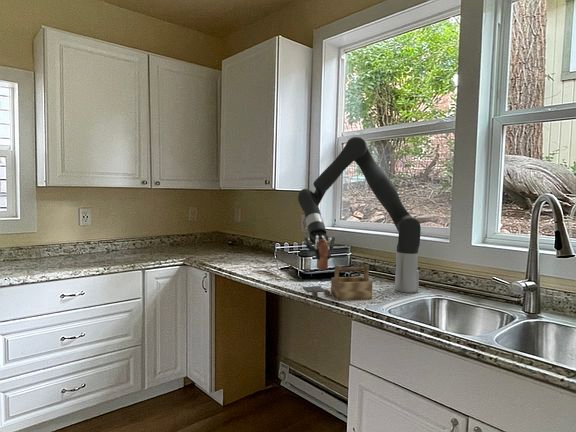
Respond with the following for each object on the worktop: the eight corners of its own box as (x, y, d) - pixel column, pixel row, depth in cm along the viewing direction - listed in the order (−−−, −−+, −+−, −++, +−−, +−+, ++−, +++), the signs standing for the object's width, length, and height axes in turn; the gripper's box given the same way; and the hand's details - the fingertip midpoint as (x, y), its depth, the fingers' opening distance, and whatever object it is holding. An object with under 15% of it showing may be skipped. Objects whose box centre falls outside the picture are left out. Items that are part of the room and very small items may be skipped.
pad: (319, 287, 179) (319, 286, 179) (325, 291, 172) (325, 290, 172) (302, 287, 178) (302, 286, 178) (307, 292, 170) (307, 291, 170)
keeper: (327, 294, 168) (327, 289, 168) (330, 296, 164) (330, 291, 164) (311, 294, 166) (312, 289, 166) (314, 297, 162) (314, 292, 162)
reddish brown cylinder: (324, 267, 166) (325, 239, 166) (327, 269, 163) (328, 240, 162) (316, 267, 166) (317, 239, 165) (319, 269, 162) (319, 240, 161)
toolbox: (361, 292, 171) (362, 262, 170) (371, 298, 162) (373, 267, 161) (330, 293, 168) (331, 263, 167) (339, 300, 158) (340, 267, 158)
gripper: (301, 220, 169) (309, 253, 158) (333, 220, 172) (342, 252, 161) (298, 231, 174) (305, 264, 163) (329, 231, 177) (338, 263, 166)
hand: (323, 258), depth 162 cm, fingers closed on reddish brown cylinder, 3 cm apart
